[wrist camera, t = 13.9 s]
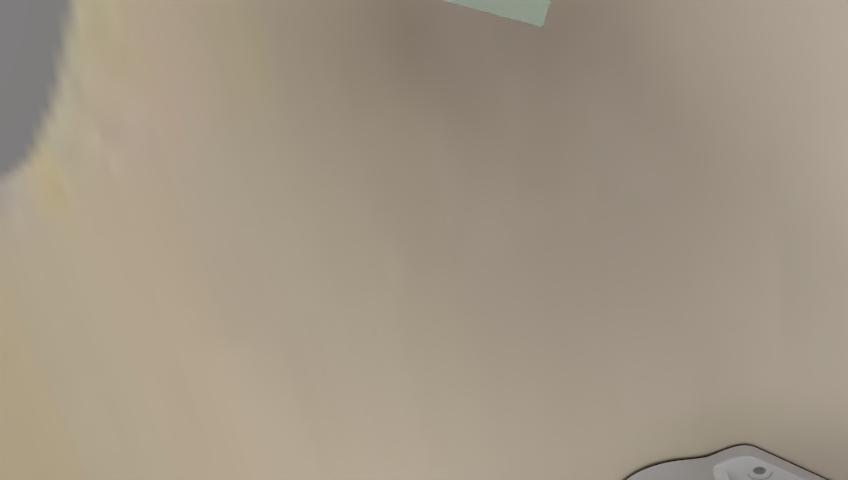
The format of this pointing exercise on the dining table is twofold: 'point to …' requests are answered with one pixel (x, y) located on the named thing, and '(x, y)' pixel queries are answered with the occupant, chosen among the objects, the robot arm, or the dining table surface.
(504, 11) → the sage cube
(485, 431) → the dining table surface
